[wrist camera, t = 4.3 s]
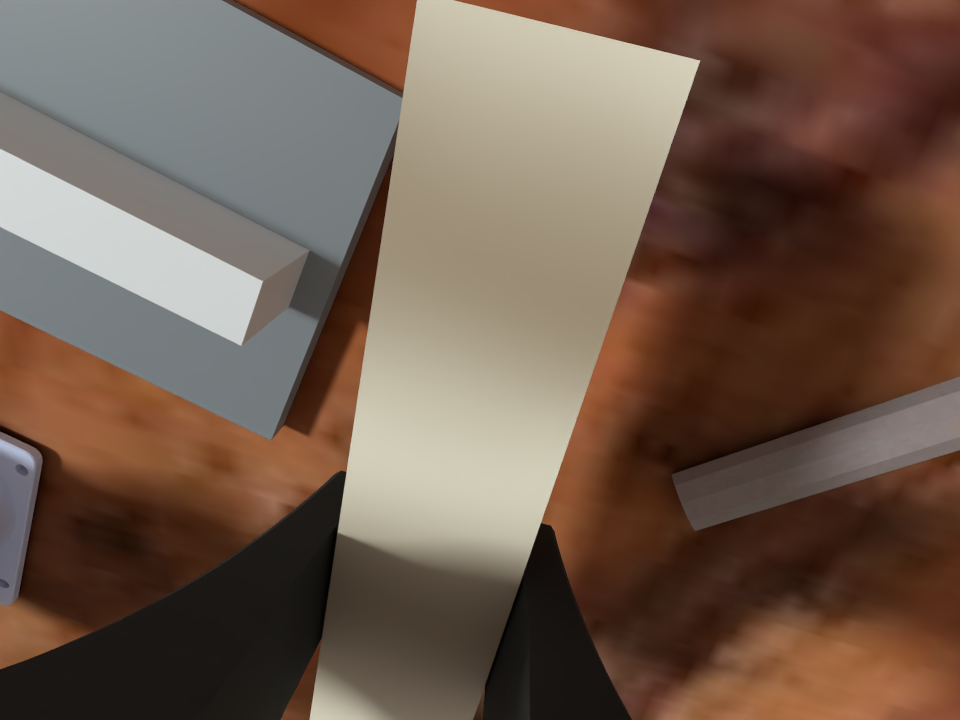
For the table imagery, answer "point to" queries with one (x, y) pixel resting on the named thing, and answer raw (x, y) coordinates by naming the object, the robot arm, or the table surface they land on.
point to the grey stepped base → (183, 190)
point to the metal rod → (823, 456)
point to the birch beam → (482, 339)
